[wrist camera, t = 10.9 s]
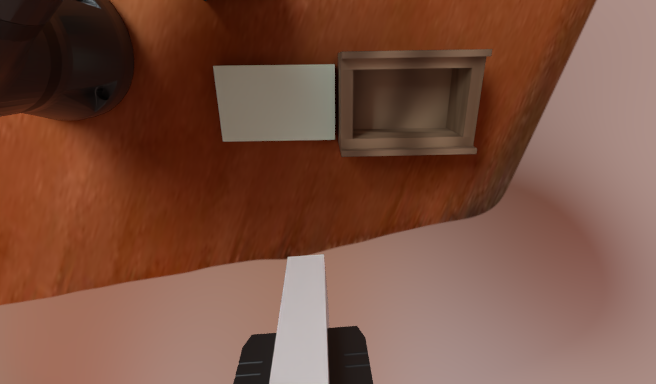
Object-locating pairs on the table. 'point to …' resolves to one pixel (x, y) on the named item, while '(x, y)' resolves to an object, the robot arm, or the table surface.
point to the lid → (276, 102)
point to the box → (409, 101)
